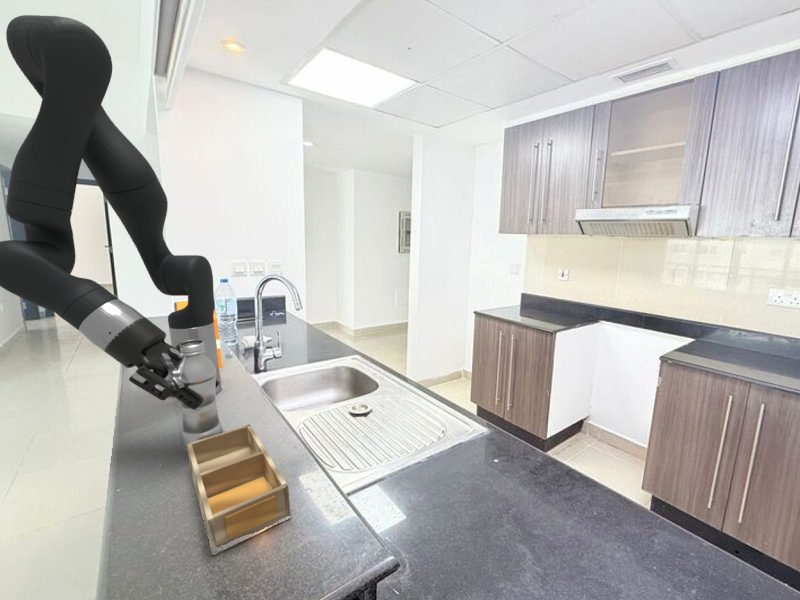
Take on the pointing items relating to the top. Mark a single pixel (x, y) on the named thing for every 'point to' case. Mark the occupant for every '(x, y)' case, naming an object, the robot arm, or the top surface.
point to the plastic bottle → (201, 380)
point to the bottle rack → (236, 485)
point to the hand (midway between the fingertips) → (208, 395)
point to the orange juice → (184, 303)
